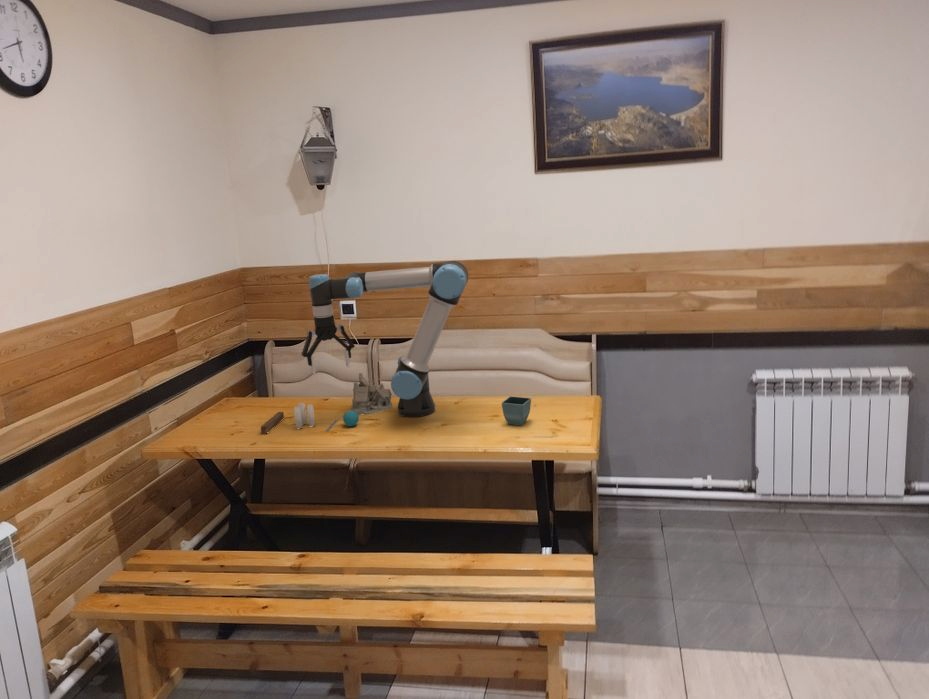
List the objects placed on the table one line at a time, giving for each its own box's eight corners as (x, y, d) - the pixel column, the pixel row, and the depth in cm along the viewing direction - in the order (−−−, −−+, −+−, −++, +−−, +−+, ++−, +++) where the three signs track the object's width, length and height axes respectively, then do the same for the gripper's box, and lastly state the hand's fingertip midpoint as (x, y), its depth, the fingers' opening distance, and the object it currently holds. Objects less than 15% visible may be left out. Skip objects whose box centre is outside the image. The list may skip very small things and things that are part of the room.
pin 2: (307, 422, 307) (305, 402, 305) (305, 425, 304) (303, 404, 302) (302, 423, 307) (299, 402, 305) (299, 425, 305) (297, 404, 303)
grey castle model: (345, 414, 314) (344, 378, 311) (361, 403, 329) (361, 369, 326) (381, 418, 310) (381, 381, 307) (396, 406, 325) (396, 372, 322)
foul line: (338, 420, 307) (338, 420, 307) (328, 431, 295) (328, 430, 295) (335, 420, 307) (335, 420, 307) (325, 431, 296) (325, 430, 296)
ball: (361, 423, 302) (359, 408, 301) (356, 428, 297) (355, 413, 295) (346, 423, 303) (345, 408, 302) (341, 428, 298) (340, 413, 296)
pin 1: (303, 427, 302) (300, 406, 300) (301, 429, 300) (298, 408, 298) (297, 427, 302) (295, 406, 300) (295, 429, 300) (292, 408, 298)
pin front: (316, 425, 304) (313, 404, 302) (313, 427, 301) (311, 406, 299) (310, 425, 304) (307, 404, 302) (308, 427, 302) (305, 406, 300)
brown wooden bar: (284, 418, 314) (283, 411, 313) (266, 434, 296) (265, 426, 296) (279, 418, 314) (278, 411, 313) (261, 434, 297) (260, 426, 296)
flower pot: (532, 420, 294) (531, 397, 291) (524, 428, 286) (523, 404, 284) (510, 418, 297) (509, 396, 295) (502, 425, 290) (501, 402, 287)
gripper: (352, 309, 301) (359, 362, 306) (288, 319, 291) (296, 374, 296) (358, 311, 294) (365, 365, 299) (293, 322, 284) (301, 378, 289)
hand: (331, 370), depth 298 cm, fingers open, 13 cm apart
